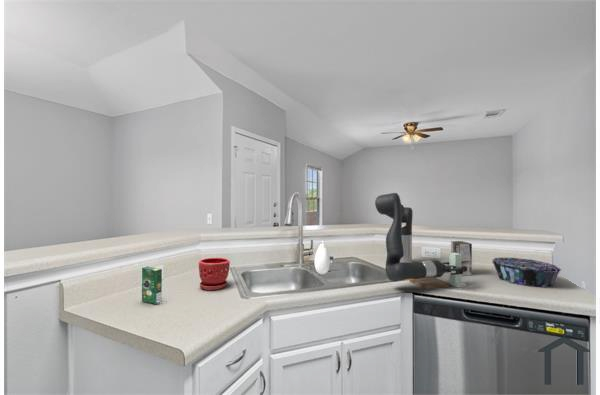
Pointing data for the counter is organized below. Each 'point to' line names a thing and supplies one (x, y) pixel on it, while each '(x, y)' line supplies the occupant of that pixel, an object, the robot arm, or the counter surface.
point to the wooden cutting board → (429, 282)
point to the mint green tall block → (453, 260)
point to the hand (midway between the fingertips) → (458, 266)
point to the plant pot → (213, 273)
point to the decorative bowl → (526, 271)
